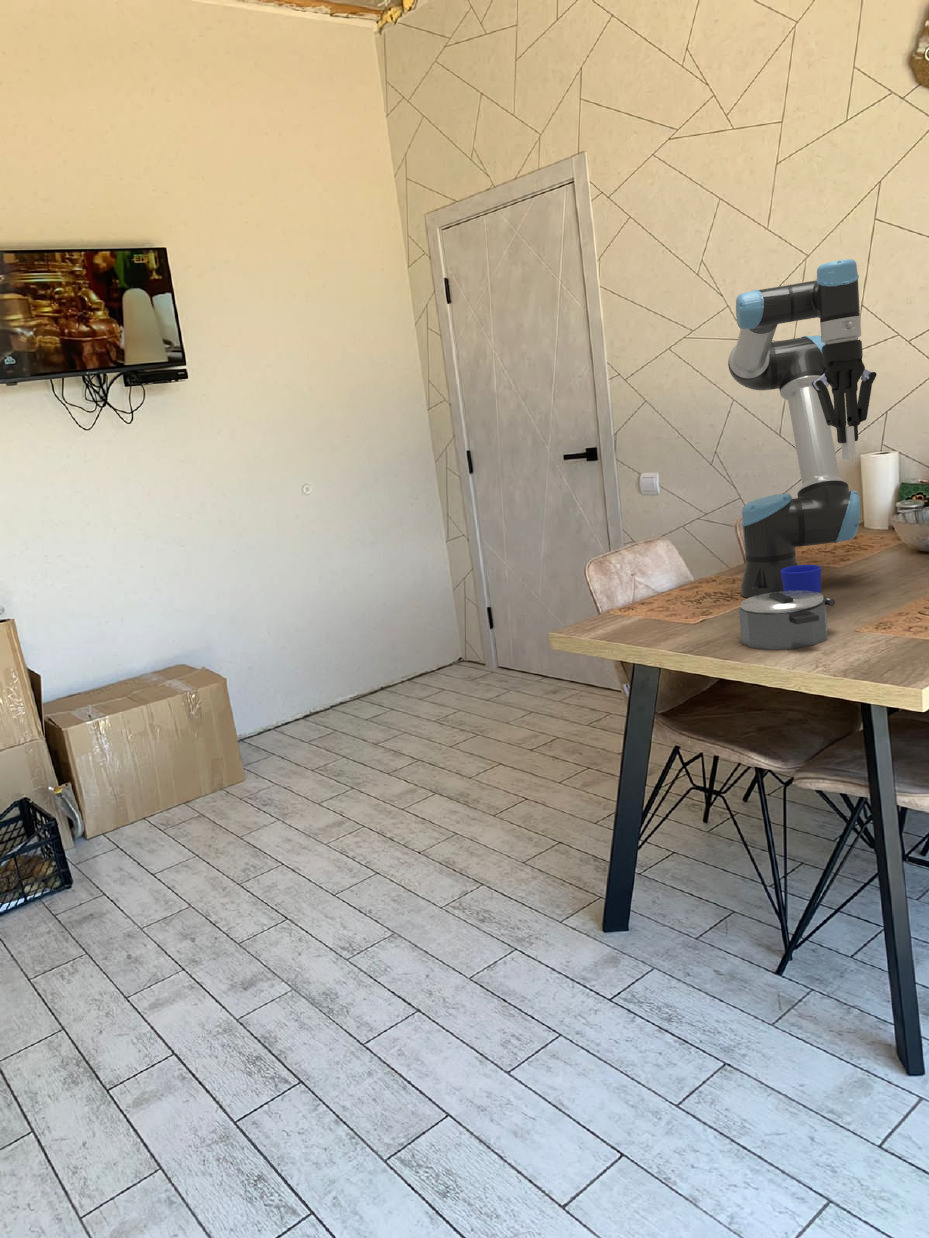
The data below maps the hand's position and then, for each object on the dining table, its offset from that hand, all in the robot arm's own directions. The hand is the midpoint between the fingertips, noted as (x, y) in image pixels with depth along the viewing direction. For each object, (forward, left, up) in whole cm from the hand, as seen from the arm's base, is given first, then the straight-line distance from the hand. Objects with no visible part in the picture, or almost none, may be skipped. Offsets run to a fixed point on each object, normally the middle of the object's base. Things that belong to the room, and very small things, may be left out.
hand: (849, 458), depth 194 cm
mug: (-7, -9, -33) cm, 35 cm away
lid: (+12, -22, -25) cm, 36 cm away
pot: (+12, -22, -32) cm, 41 cm away
